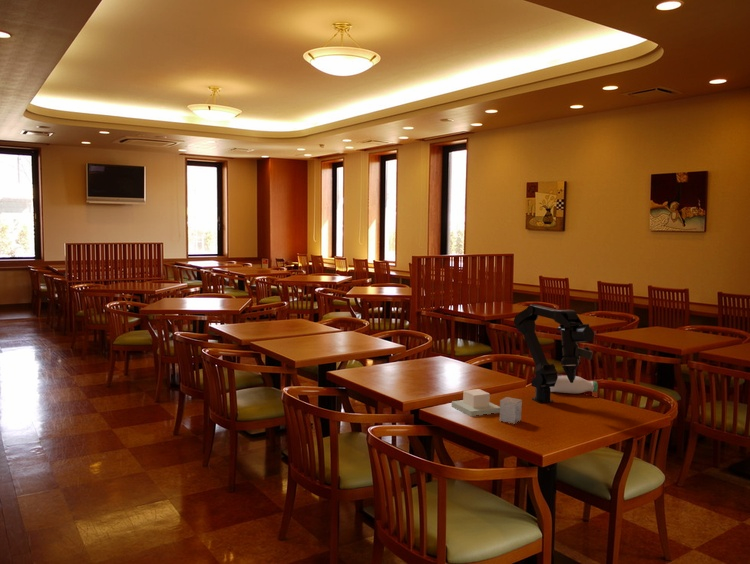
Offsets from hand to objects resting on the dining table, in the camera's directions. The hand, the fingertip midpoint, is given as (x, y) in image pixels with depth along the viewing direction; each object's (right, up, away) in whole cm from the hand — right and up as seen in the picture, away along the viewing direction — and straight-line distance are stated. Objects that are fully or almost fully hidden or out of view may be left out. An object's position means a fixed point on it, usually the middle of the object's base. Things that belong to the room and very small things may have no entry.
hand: (572, 381), depth 241 cm
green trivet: (-38, -11, +1) cm, 40 cm away
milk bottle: (-1, -5, +29) cm, 30 cm away
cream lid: (-38, -9, +1) cm, 39 cm away
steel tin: (-27, -13, -12) cm, 33 cm away
